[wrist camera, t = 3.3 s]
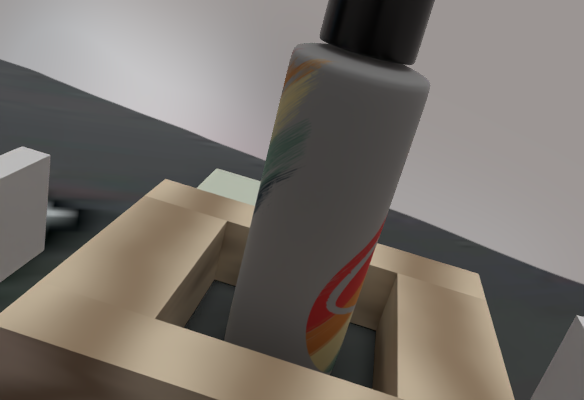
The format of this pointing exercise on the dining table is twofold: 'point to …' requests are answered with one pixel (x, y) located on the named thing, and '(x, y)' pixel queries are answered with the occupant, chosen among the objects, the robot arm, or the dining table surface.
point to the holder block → (219, 354)
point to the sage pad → (231, 186)
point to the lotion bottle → (329, 180)
